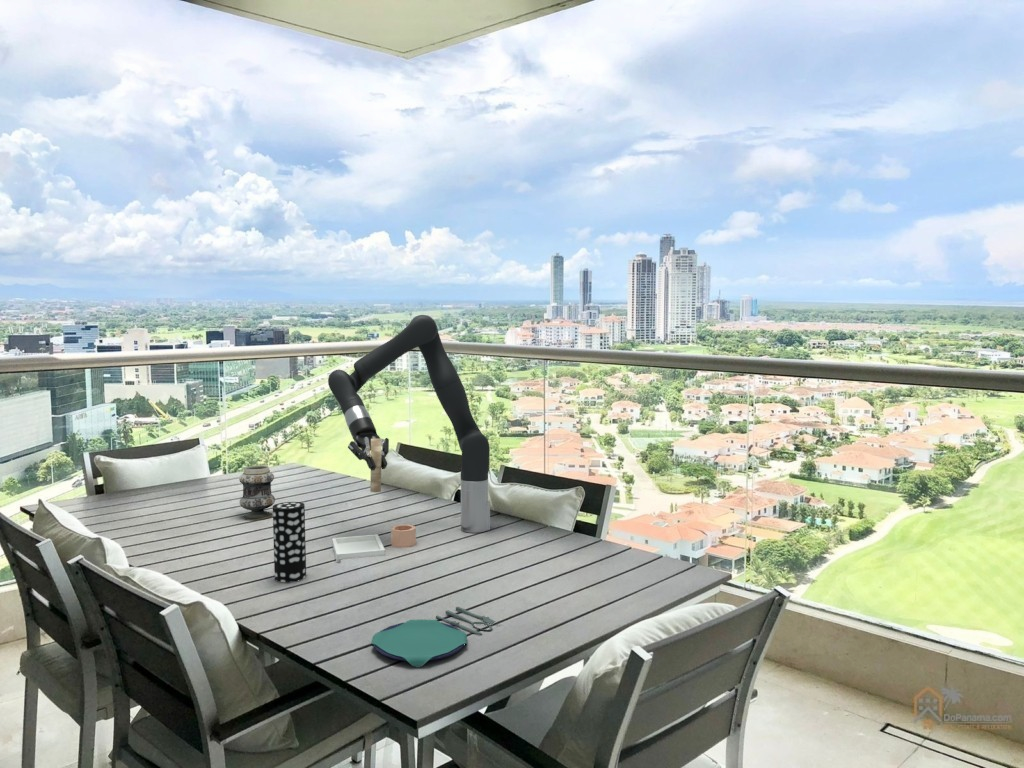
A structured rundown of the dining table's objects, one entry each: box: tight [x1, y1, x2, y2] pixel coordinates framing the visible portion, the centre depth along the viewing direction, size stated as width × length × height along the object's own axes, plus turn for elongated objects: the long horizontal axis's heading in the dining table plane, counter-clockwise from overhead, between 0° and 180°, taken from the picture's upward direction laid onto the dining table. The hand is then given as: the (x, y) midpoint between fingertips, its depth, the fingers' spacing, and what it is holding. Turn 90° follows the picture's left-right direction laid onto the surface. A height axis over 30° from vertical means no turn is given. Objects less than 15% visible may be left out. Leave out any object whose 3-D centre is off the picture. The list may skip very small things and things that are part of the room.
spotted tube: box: [272, 501, 307, 583], centre depth 202 cm, size 8×8×20 cm
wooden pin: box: [369, 438, 383, 493], centre depth 225 cm, size 3×3×16 cm
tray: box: [331, 534, 386, 564], centre depth 224 cm, size 14×17×2 cm
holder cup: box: [390, 524, 417, 549], centre depth 229 cm, size 8×8×6 cm
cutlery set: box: [370, 606, 496, 667], centre depth 163 cm, size 20×30×2 cm, turn 139°
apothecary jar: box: [238, 465, 276, 521], centre depth 265 cm, size 12×12×18 cm
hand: (379, 468), depth 223 cm, fingers closed on wooden pin, 3 cm apart
